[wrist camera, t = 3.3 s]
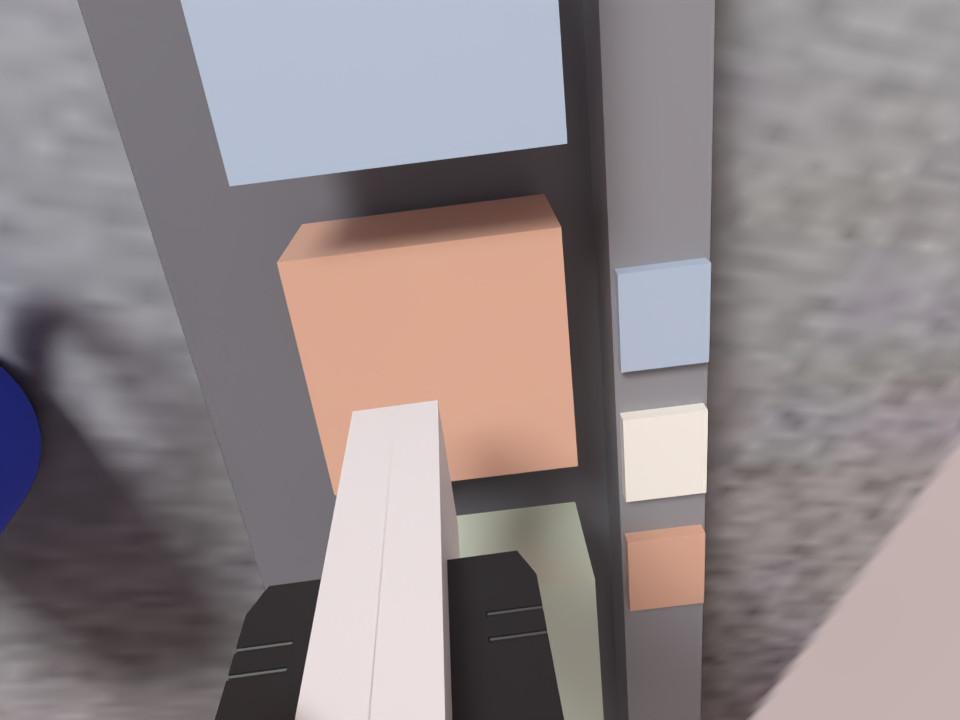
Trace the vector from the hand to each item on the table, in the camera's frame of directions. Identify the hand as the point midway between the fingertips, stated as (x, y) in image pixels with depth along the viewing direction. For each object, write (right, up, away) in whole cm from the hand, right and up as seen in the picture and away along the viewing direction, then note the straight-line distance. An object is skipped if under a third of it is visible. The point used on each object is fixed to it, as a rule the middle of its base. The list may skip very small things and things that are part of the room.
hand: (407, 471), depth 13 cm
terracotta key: (0, +3, +6) cm, 7 cm away
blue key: (-1, +9, +1) cm, 9 cm away
